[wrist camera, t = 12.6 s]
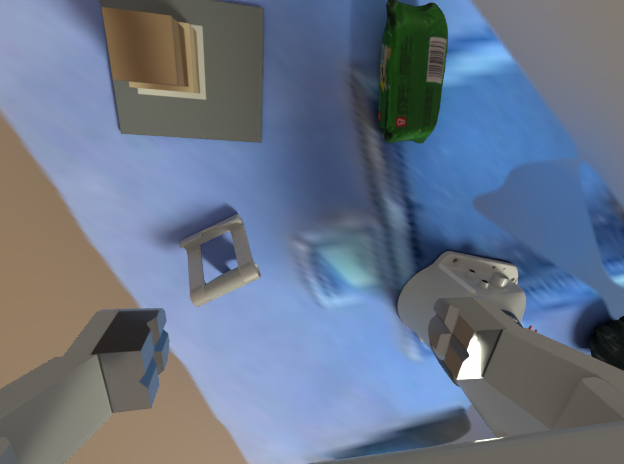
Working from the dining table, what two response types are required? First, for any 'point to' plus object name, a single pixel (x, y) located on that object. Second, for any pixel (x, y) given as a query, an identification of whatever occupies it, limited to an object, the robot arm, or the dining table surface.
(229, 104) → the mat
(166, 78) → the walnut cube
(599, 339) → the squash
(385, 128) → the snack package
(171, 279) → the dining table surface
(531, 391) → the robot arm
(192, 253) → the portable electronic device stand
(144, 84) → the oak base block
